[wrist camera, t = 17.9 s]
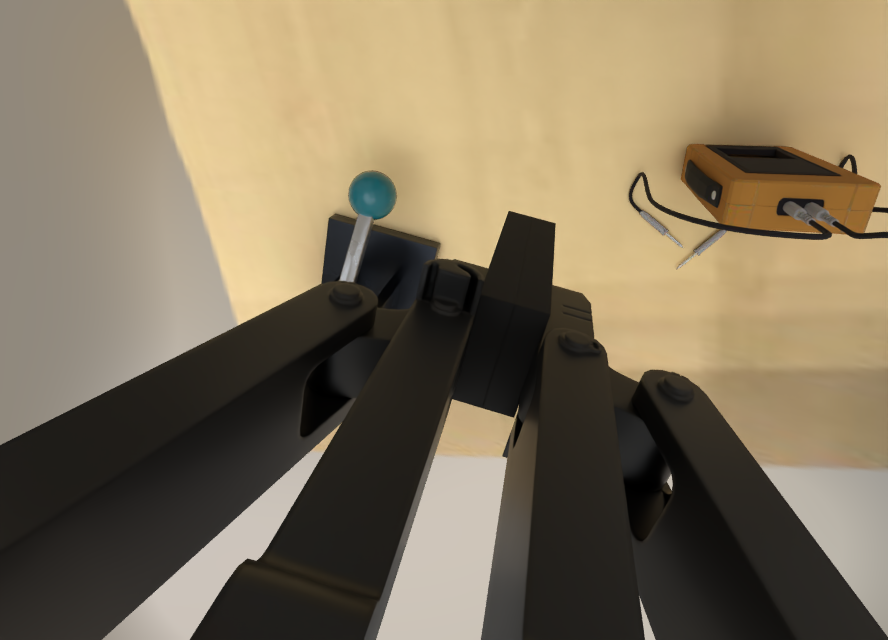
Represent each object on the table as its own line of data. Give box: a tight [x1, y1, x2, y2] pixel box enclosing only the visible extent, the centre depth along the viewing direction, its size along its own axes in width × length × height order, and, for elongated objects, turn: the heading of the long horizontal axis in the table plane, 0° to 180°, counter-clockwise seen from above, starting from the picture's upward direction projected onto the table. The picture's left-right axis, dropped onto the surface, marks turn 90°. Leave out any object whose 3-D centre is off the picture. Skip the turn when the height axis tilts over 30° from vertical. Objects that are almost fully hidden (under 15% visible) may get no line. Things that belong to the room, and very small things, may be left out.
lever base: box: [321, 214, 440, 310], centre depth 45 cm, size 12×10×14 cm
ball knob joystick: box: [339, 171, 397, 283], centre depth 40 cm, size 15×4×4 cm, turn 168°
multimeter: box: [629, 144, 888, 269], centre depth 33 cm, size 15×10×20 cm
